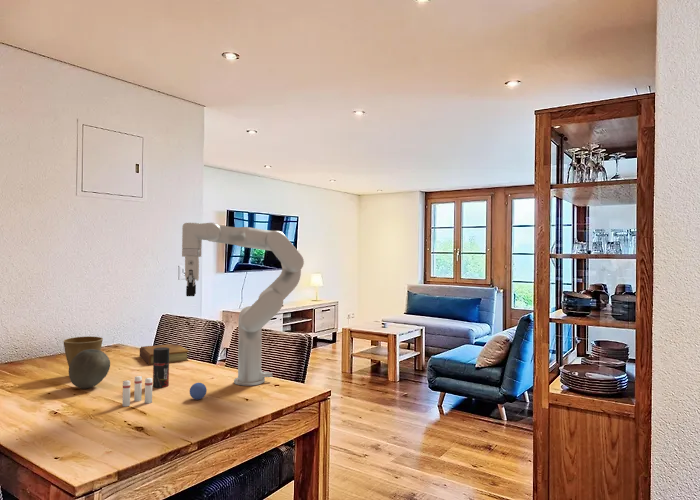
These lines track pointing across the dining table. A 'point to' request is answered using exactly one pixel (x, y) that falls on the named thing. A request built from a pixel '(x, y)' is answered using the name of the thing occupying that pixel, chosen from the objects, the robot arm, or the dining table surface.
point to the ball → (198, 391)
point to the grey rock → (88, 368)
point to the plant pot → (80, 346)
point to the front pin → (148, 390)
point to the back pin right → (138, 388)
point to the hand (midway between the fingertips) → (191, 295)
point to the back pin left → (126, 393)
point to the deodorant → (161, 367)
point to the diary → (175, 353)
